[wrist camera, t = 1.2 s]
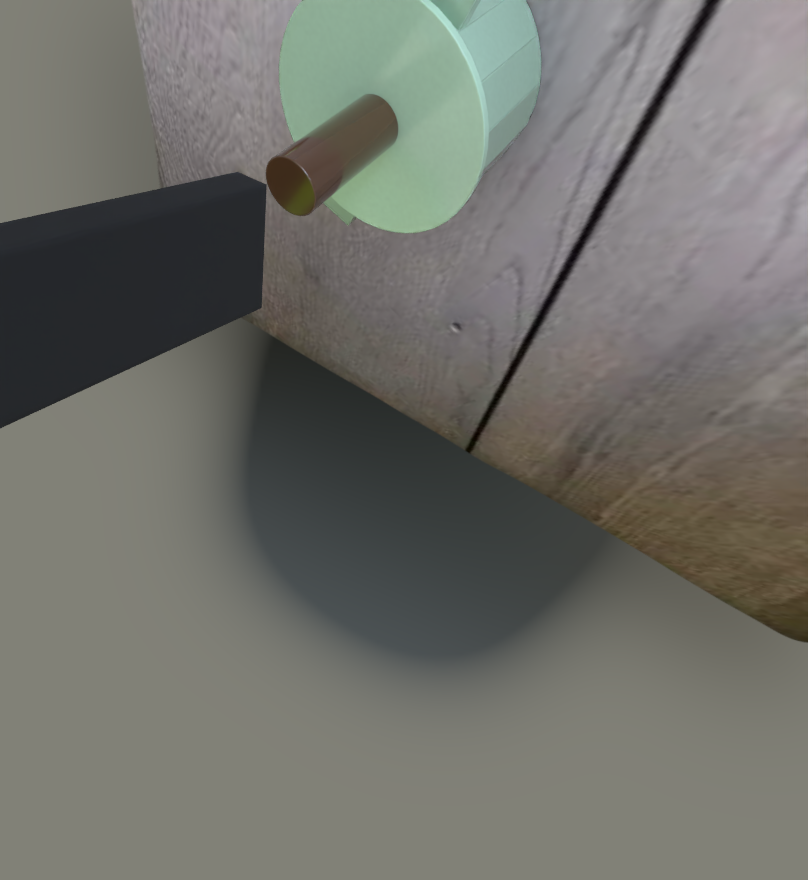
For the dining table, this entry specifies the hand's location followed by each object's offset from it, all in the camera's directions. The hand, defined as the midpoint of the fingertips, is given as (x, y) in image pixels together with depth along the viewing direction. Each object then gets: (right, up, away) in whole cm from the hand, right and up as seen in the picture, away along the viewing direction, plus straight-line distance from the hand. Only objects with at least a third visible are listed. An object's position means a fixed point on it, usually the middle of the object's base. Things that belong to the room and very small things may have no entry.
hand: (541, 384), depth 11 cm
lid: (-4, +17, +23) cm, 29 cm away
